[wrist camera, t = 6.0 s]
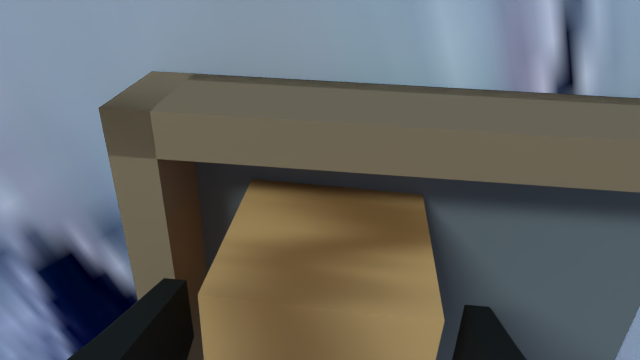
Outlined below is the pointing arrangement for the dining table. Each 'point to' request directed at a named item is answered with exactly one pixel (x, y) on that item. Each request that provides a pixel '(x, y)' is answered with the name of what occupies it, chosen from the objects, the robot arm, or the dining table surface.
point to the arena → (402, 189)
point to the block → (323, 277)
